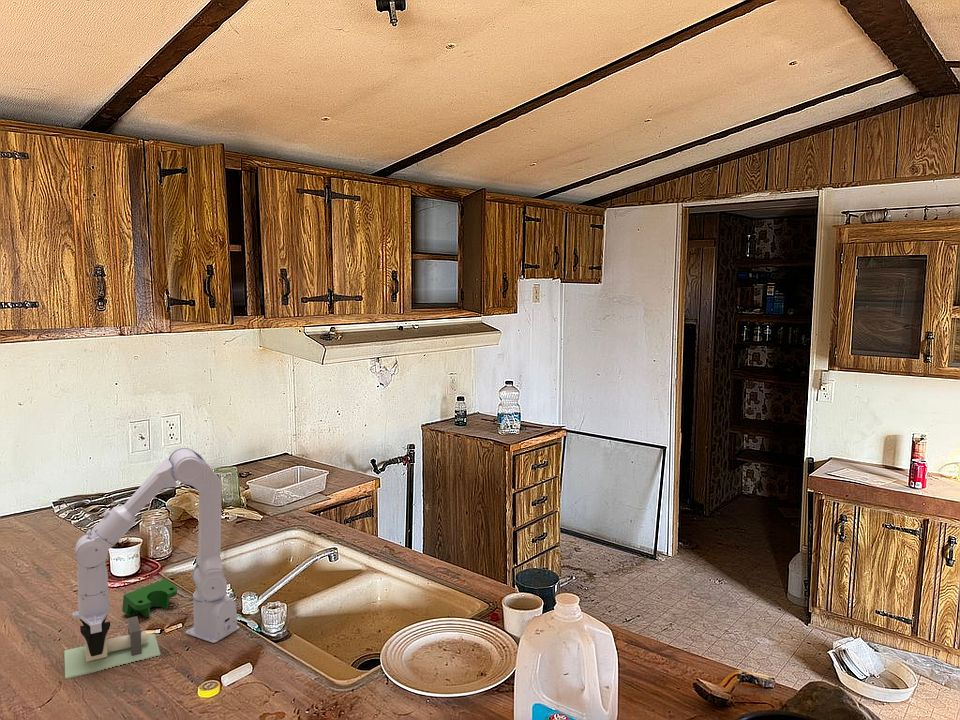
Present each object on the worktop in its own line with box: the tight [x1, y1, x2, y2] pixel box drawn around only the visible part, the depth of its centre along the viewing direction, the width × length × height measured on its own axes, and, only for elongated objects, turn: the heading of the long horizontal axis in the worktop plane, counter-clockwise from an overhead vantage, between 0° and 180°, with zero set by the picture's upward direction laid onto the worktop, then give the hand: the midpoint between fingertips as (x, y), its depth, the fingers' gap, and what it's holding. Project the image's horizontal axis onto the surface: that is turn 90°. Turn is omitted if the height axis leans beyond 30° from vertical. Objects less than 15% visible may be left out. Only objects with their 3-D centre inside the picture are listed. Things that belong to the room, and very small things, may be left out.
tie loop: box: [127, 615, 142, 656], centre depth 153 cm, size 2×7×5 cm, turn 32°
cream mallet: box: [84, 630, 149, 662], centre depth 151 cm, size 12×4×5 cm, turn 122°
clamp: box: [121, 578, 178, 618], centre depth 170 cm, size 12×6×9 cm, turn 142°
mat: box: [63, 633, 162, 680], centre depth 151 cm, size 18×12×1 cm, turn 122°
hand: (96, 649), depth 149 cm, fingers closed on cream mallet, 4 cm apart
